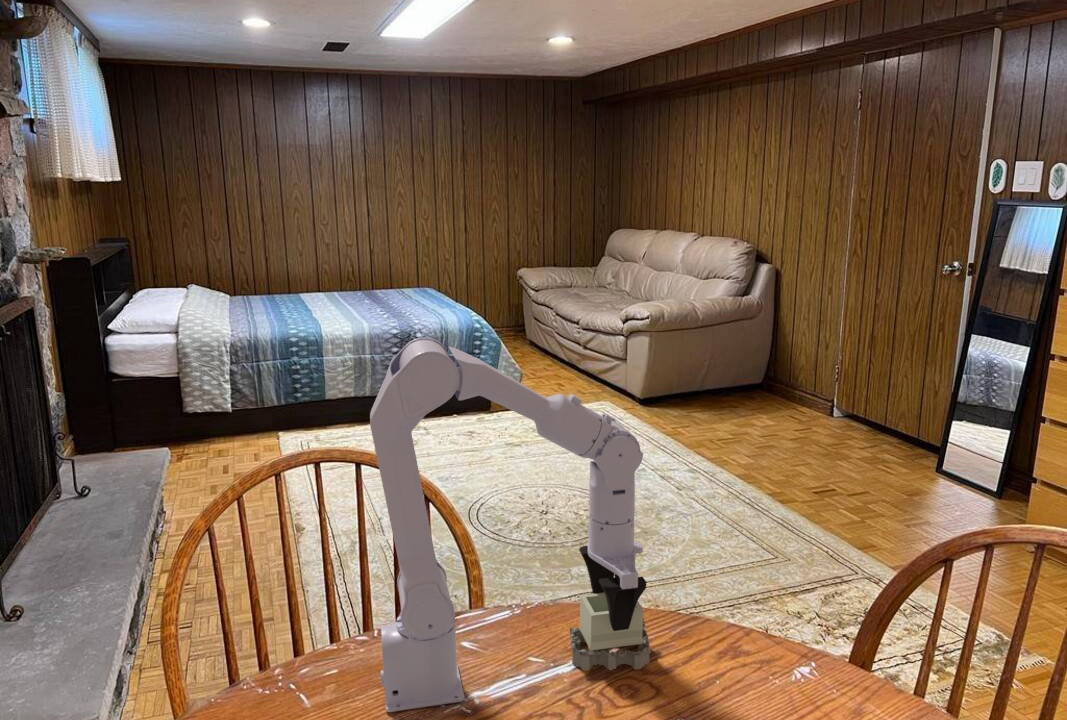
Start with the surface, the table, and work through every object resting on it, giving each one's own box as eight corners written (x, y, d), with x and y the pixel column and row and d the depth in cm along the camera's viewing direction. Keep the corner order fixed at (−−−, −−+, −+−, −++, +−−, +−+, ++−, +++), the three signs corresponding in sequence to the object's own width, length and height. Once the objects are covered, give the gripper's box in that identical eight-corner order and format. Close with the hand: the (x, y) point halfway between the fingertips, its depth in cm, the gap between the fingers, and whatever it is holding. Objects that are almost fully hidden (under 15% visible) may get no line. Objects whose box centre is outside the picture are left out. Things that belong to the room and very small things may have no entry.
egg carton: (647, 643, 110) (647, 616, 109) (651, 675, 102) (652, 647, 102) (570, 641, 110) (569, 614, 110) (569, 673, 103) (569, 644, 102)
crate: (590, 650, 102) (591, 615, 101) (579, 628, 107) (580, 595, 105) (641, 643, 103) (643, 609, 102) (628, 622, 108) (630, 589, 107)
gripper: (662, 536, 95) (660, 639, 97) (623, 492, 108) (622, 583, 111) (606, 542, 93) (605, 646, 96) (573, 497, 107) (573, 589, 110)
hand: (610, 613), depth 103 cm, fingers open, 7 cm apart
